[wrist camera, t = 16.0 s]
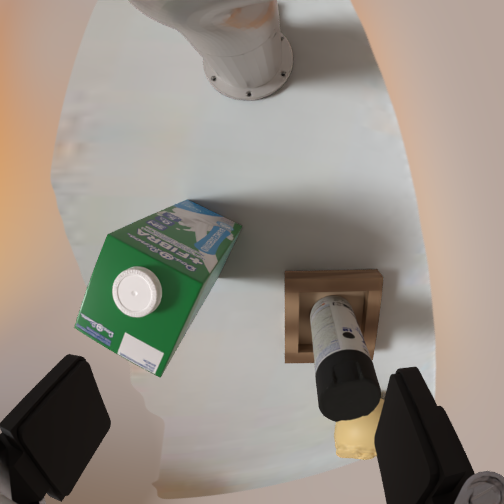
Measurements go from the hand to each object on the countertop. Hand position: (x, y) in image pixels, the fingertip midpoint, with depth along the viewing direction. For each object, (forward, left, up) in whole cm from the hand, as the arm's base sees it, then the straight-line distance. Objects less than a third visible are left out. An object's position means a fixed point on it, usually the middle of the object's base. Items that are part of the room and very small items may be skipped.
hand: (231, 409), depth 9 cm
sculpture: (+38, +16, -39) cm, 56 cm away
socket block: (+16, +8, -38) cm, 42 cm away
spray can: (+16, +8, -38) cm, 41 cm away
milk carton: (+4, -11, -38) cm, 40 cm away
